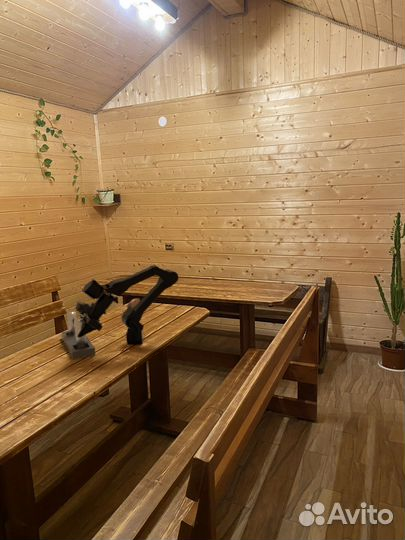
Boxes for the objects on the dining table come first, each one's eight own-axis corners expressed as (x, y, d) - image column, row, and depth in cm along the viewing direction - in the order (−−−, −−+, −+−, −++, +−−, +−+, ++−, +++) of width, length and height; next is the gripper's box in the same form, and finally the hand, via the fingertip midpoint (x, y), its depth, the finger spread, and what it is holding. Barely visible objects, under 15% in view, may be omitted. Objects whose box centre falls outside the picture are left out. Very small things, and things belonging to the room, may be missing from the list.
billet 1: (79, 338, 182) (76, 311, 179) (77, 341, 178) (74, 313, 175) (70, 338, 181) (68, 311, 179) (68, 341, 177) (65, 314, 175)
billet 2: (87, 347, 166) (85, 318, 163) (85, 351, 162) (82, 321, 159) (78, 348, 166) (75, 318, 163) (75, 351, 162) (72, 322, 159)
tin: (132, 318, 208) (131, 303, 207) (127, 318, 209) (125, 303, 207) (142, 310, 223) (141, 296, 221) (137, 310, 223) (136, 296, 222)
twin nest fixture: (81, 334, 186) (81, 328, 185) (95, 354, 162) (94, 347, 161) (61, 338, 182) (61, 332, 181) (73, 359, 157) (72, 352, 157)
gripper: (81, 290, 169) (57, 319, 166) (91, 299, 153) (65, 331, 150) (101, 304, 174) (78, 333, 171) (112, 315, 158) (87, 346, 155)
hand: (77, 335), depth 162 cm, fingers closed on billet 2, 4 cm apart
